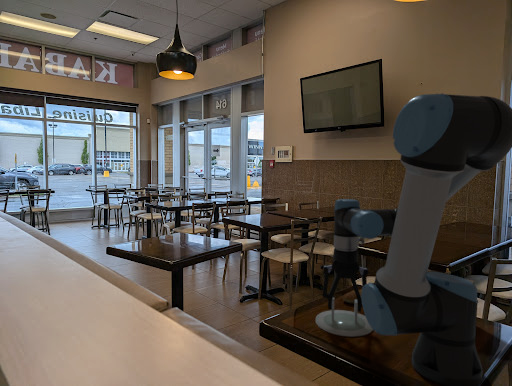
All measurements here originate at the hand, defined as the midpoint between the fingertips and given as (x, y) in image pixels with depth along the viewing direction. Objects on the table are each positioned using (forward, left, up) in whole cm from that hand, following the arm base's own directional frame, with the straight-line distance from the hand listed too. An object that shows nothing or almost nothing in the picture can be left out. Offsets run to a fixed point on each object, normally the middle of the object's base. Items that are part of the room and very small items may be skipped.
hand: (344, 319), depth 112 cm
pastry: (+21, -2, -2) cm, 21 cm away
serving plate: (0, 0, -1) cm, 1 cm away
